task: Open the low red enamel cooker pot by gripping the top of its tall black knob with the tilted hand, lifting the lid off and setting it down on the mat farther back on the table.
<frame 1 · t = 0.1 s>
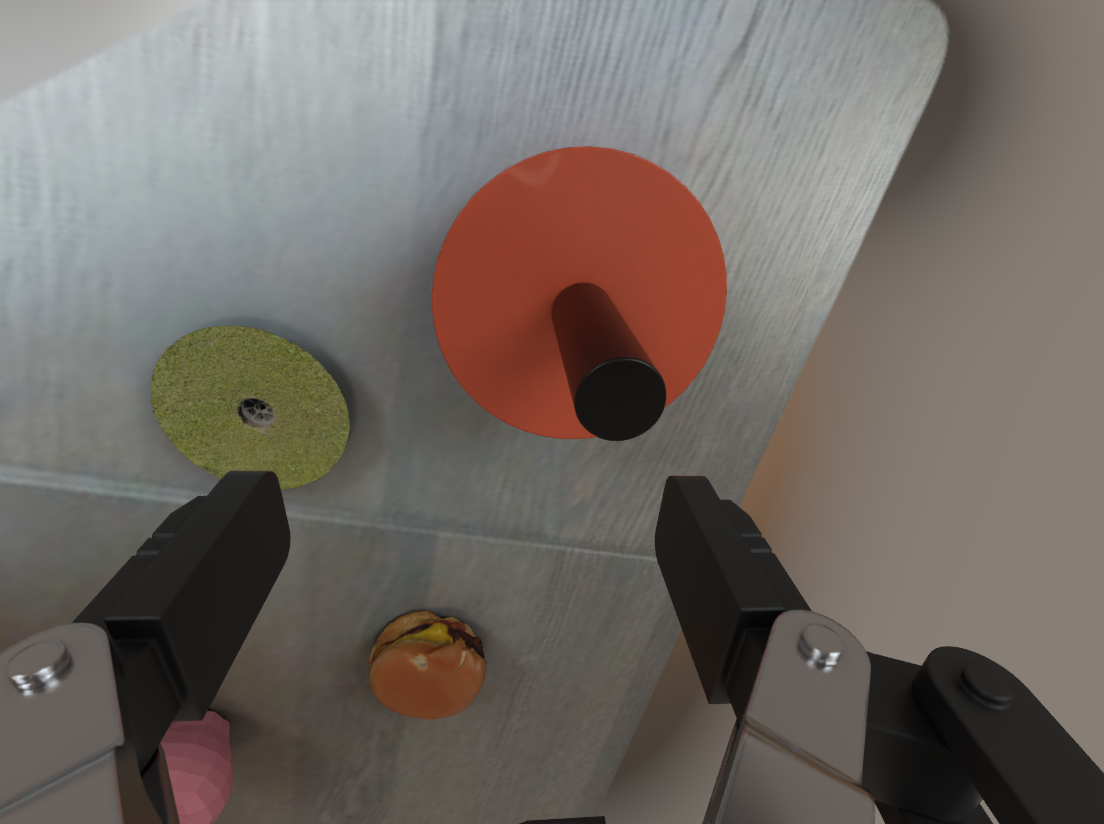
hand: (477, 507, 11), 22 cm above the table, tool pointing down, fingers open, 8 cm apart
cooker lid: (580, 309, 24), point 7 cm above the table, touching cooker
apple: (207, 718, 47), on the table
mat: (267, 400, 33), on the table
burger: (431, 642, 45), on the table
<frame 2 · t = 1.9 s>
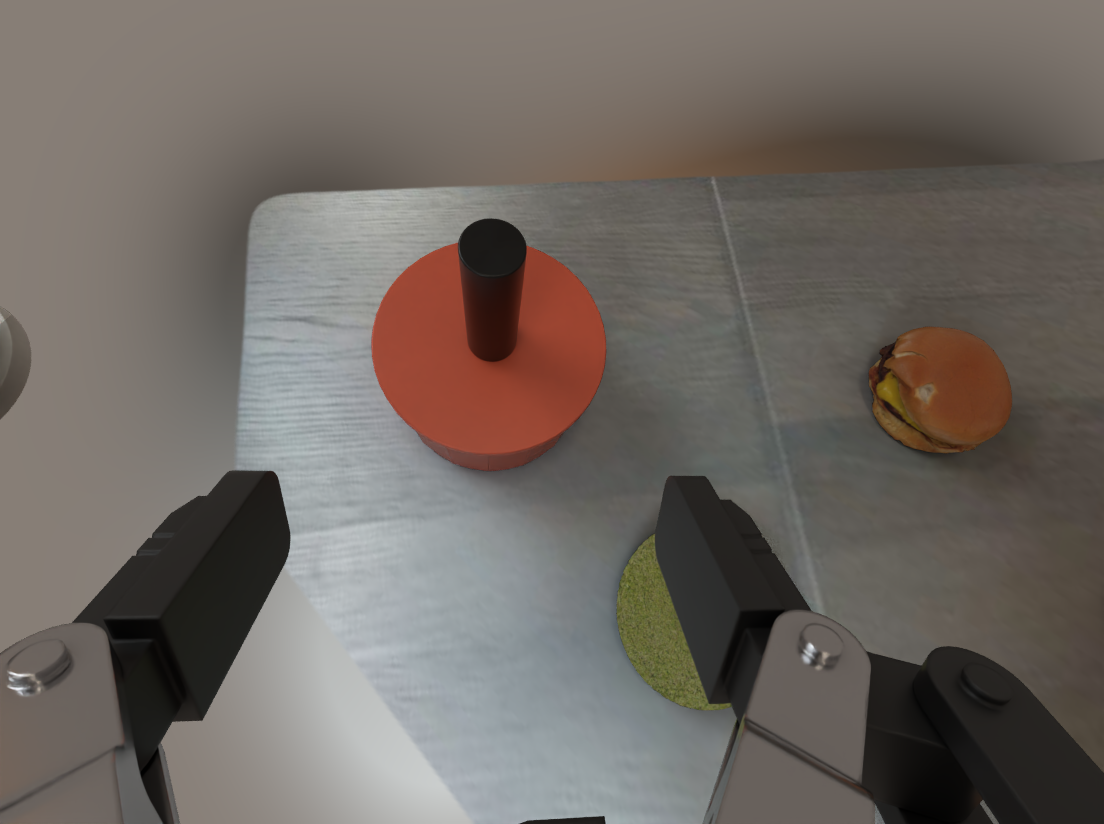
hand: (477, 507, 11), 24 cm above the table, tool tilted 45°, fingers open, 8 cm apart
cooker lid: (492, 343, 30), point 7 cm above the table, touching cooker
mat: (691, 608, 34), on the table
burger: (915, 399, 41), on the table
cooker: (491, 386, 37), on the table
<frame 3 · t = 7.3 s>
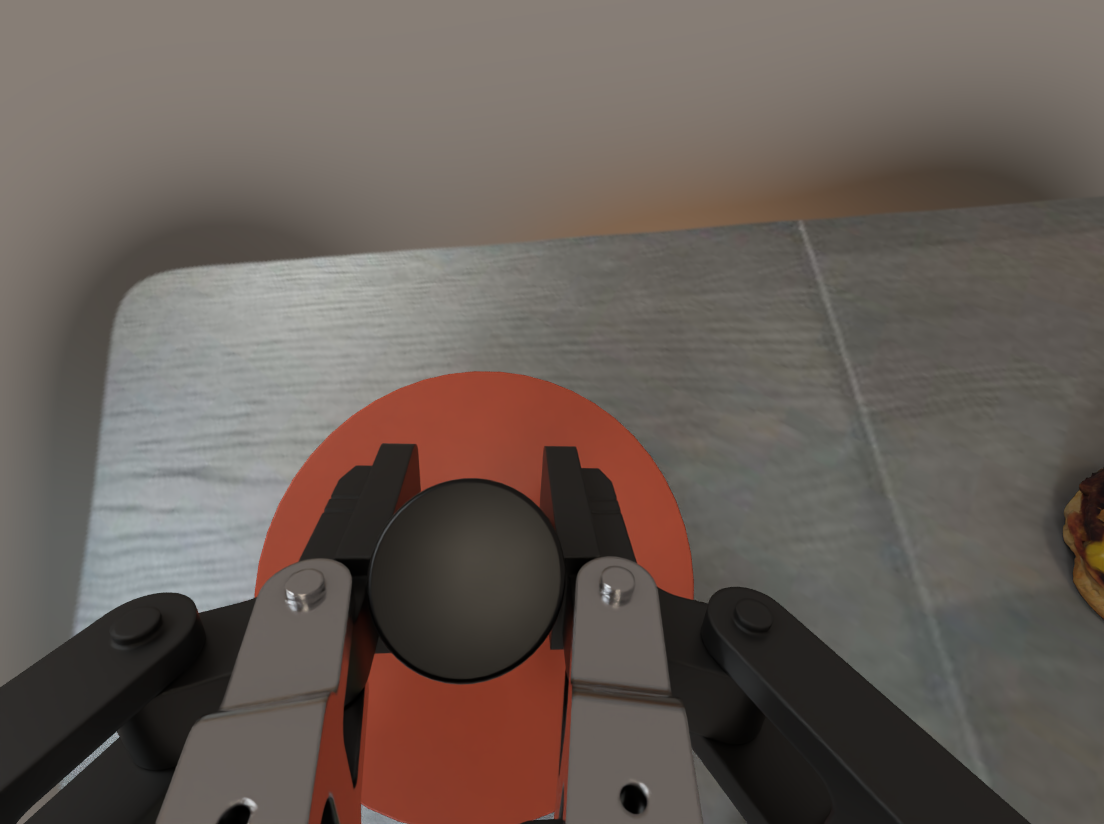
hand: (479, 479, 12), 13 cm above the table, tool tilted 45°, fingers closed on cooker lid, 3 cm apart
cooker lid: (484, 572, 16), point 8 cm above the table, touching cooker, gripper
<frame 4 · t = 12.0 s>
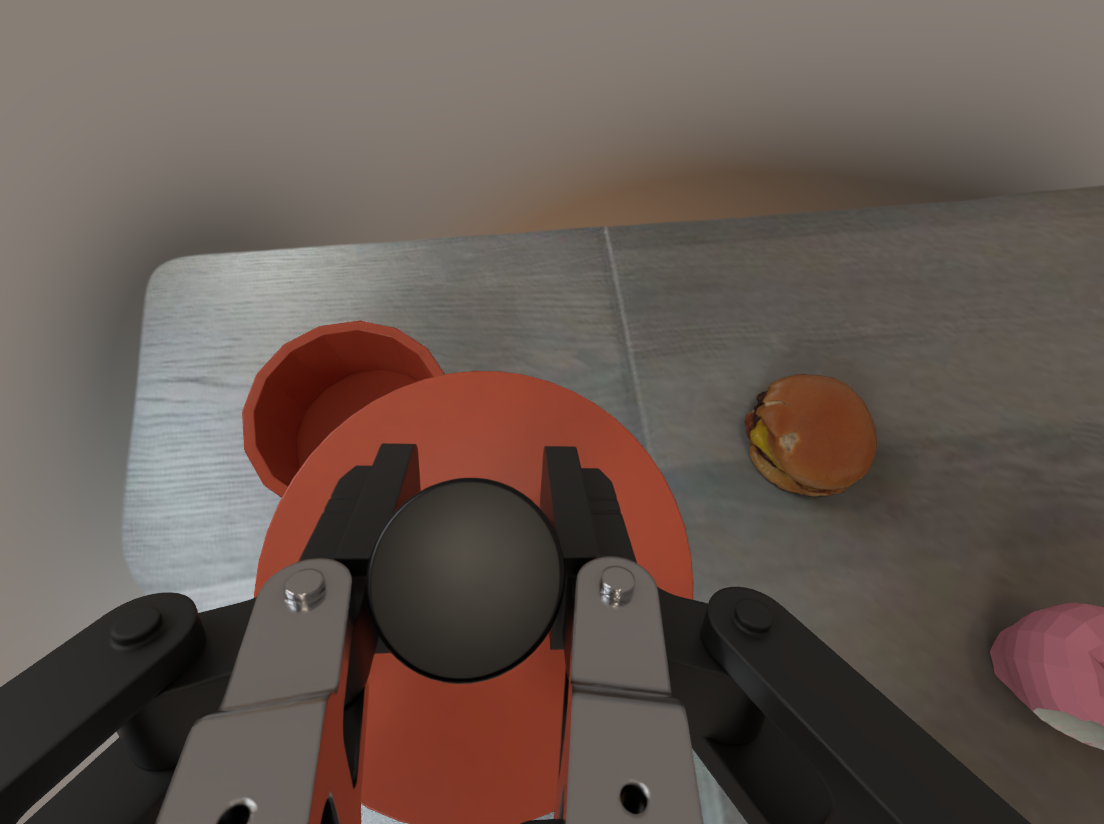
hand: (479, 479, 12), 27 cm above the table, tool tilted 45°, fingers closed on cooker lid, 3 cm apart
cooker lid: (484, 572, 16), point 22 cm above the table, touching gripper
apple: (1011, 660, 39), on the table
burger: (794, 441, 43), on the table
cooker: (376, 440, 39), on the table
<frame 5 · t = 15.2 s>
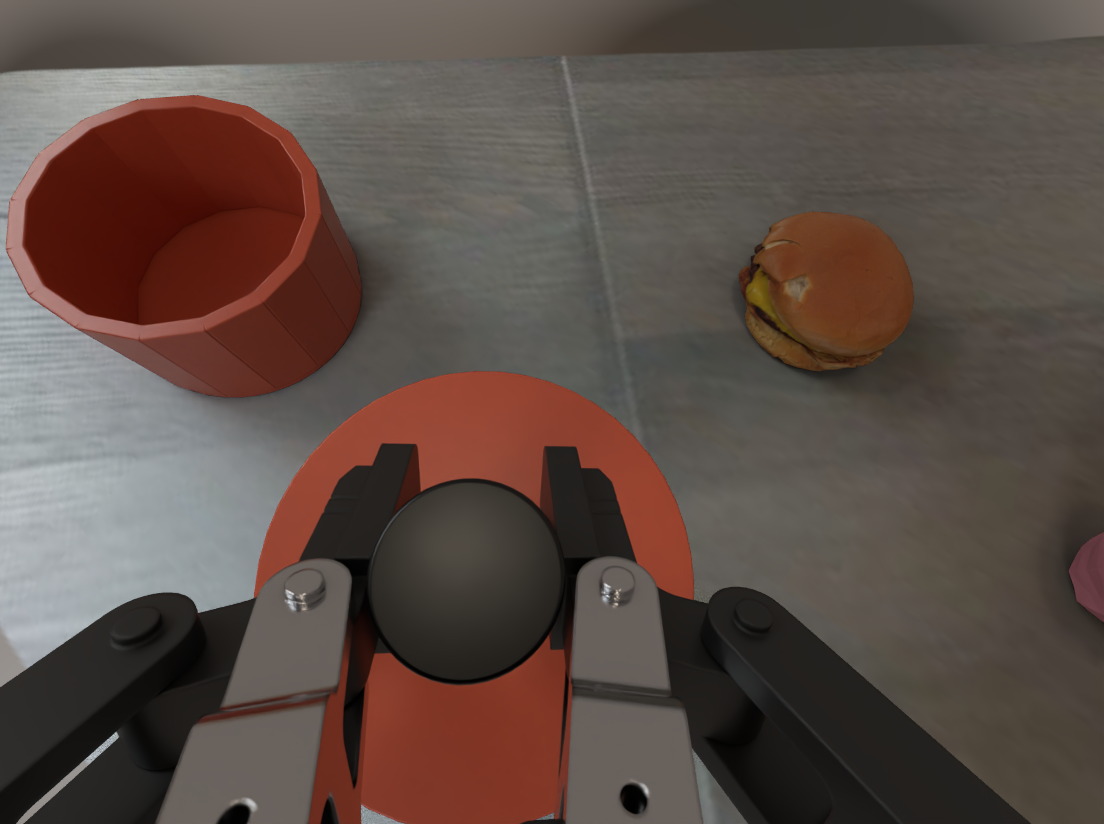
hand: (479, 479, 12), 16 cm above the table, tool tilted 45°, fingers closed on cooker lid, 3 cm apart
cooker lid: (484, 572, 16), point 10 cm above the table, touching gripper
apple: (1096, 584, 30), on the table
burger: (803, 310, 33), on the table
cooker: (249, 295, 29), on the table
when the fingers open (8 cm above the table, at t = 17.2 s): cooker lid stays where it is, resting on mat.
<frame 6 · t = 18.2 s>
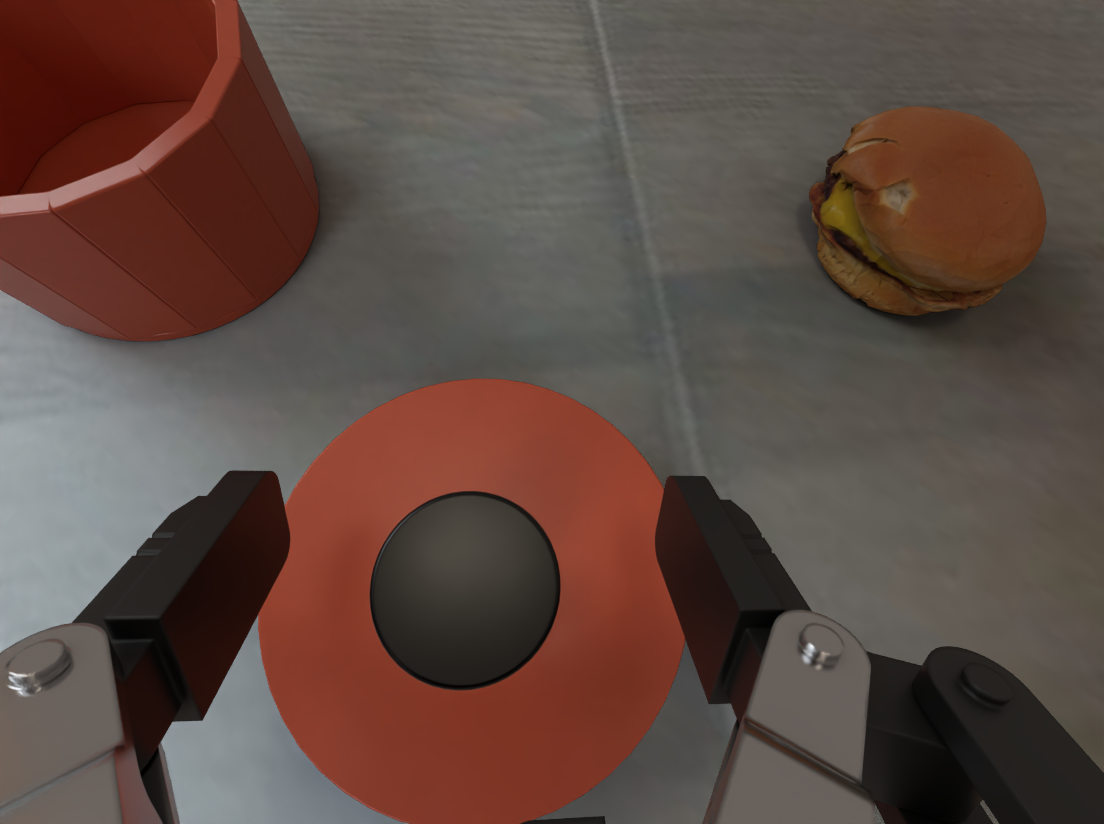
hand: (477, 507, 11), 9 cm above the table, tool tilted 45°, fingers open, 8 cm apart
cooker lid: (484, 576, 17), point 3 cm above the table, touching mat
burger: (887, 242, 26), on the table
cooker: (170, 211, 22), on the table
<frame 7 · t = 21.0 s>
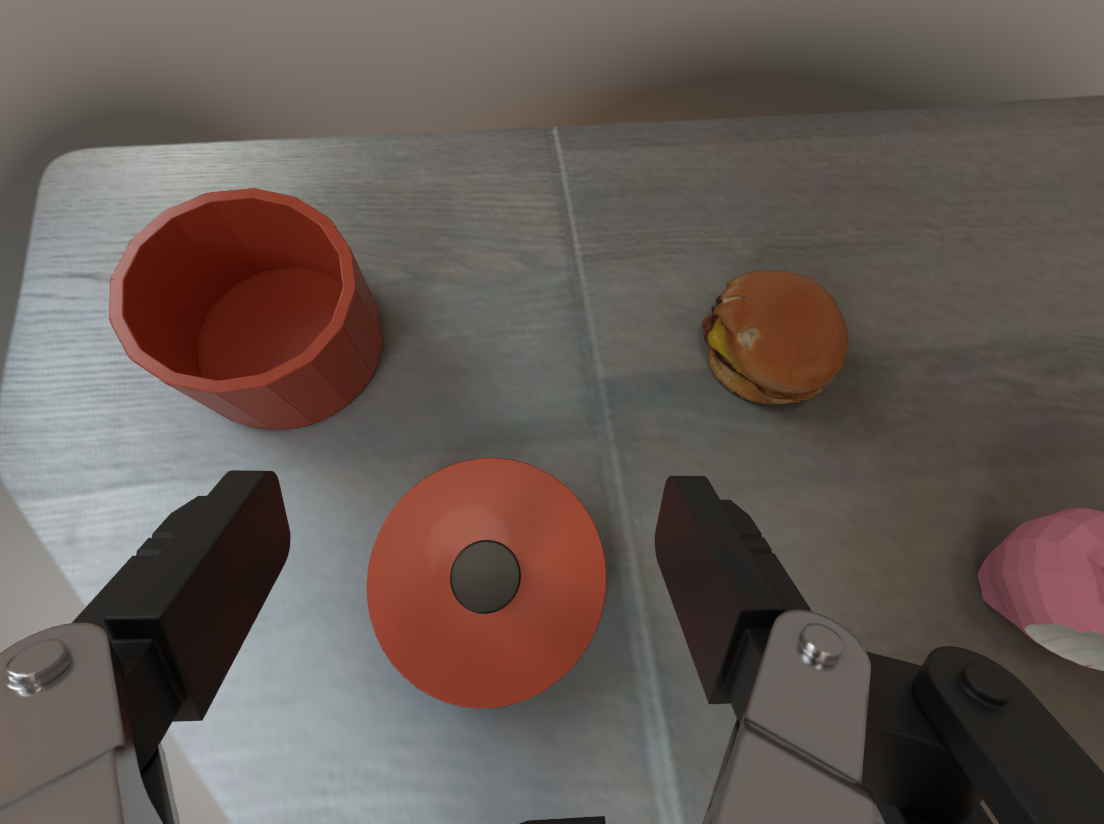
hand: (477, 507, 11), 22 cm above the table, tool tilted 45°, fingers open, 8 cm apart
cooker lid: (489, 574, 29), point 3 cm above the table, touching mat
apple: (1002, 586, 35), on the table
burger: (759, 350, 39), on the table
cooker: (289, 342, 35), on the table
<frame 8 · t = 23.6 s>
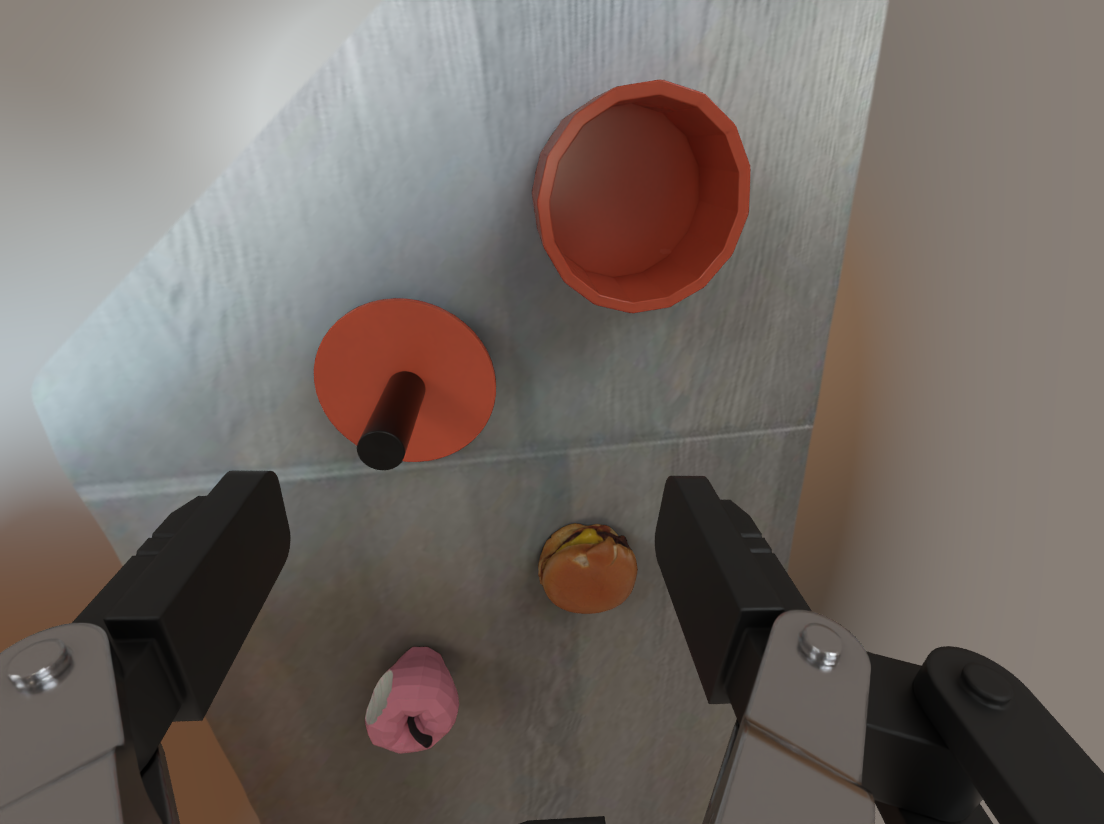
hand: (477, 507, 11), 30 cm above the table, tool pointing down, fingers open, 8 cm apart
cooker lid: (408, 384, 39), point 3 cm above the table, touching mat
apple: (422, 655, 57), on the table
burger: (584, 553, 52), on the table
cooker: (620, 195, 36), on the table
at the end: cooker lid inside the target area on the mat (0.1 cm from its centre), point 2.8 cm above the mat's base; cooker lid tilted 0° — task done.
